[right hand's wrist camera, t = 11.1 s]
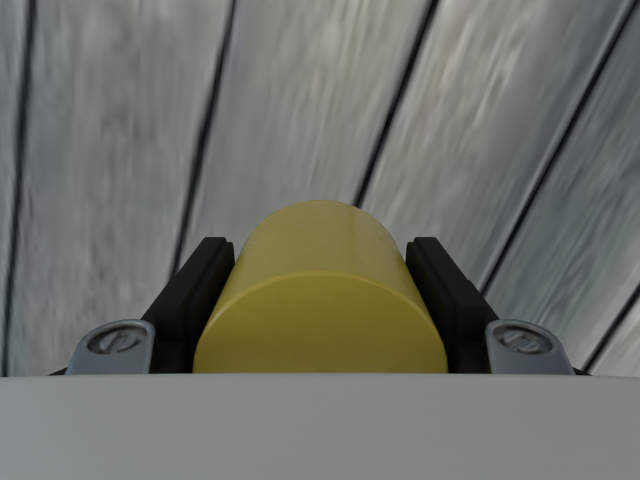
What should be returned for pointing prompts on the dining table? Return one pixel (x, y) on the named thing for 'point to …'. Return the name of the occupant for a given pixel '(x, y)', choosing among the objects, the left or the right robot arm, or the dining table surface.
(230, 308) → the tin
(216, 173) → the dining table surface
